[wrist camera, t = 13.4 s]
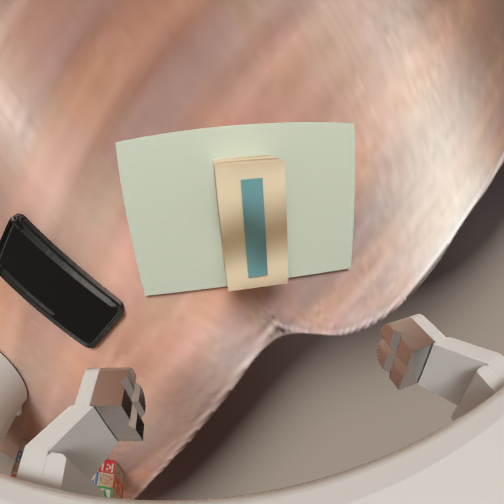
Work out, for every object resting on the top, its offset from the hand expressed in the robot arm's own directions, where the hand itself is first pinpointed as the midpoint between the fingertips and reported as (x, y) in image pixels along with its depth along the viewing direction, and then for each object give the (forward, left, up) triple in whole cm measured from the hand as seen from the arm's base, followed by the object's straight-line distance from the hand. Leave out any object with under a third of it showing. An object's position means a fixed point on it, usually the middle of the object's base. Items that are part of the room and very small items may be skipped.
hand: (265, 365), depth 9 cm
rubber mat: (+2, 0, -18) cm, 18 cm away
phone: (-18, -5, -19) cm, 26 cm away
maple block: (+2, 0, -18) cm, 18 cm away
